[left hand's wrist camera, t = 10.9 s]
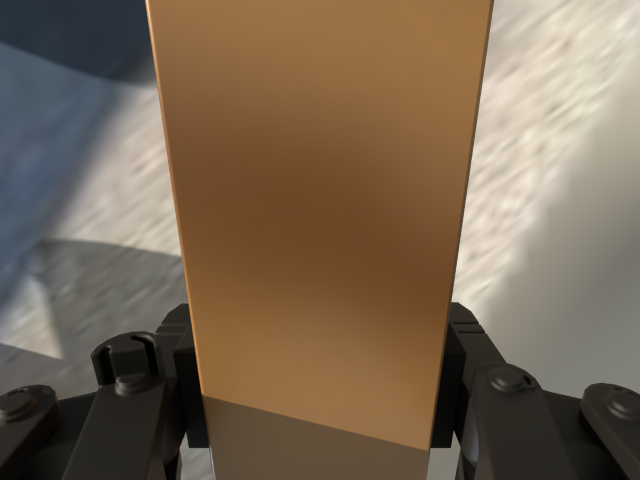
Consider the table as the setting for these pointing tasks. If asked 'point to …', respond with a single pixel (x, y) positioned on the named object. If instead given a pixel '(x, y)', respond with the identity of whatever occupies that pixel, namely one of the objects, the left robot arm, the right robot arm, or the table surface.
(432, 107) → the bar
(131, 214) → the table surface
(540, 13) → the table surface
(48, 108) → the table surface
